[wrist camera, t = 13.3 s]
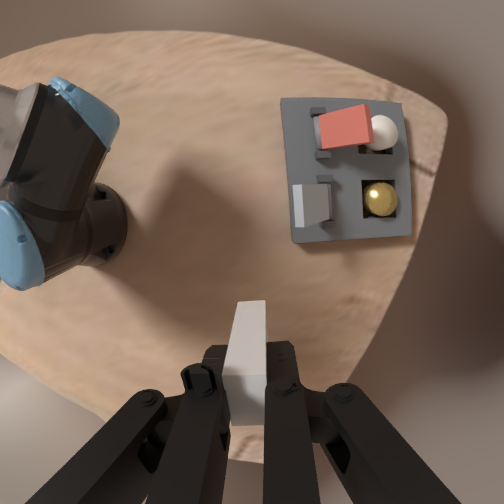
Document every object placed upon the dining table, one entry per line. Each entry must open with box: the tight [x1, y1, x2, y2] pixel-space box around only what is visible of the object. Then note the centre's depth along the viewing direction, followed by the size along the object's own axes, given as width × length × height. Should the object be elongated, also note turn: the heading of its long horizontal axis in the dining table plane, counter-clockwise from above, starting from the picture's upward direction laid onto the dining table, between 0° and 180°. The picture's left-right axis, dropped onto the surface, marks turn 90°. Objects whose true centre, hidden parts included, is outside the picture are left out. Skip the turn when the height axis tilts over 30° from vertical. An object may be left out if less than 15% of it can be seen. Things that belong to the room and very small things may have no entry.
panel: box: [280, 98, 412, 243], centre depth 38 cm, size 20×22×5 cm
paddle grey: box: [293, 184, 333, 227], centre depth 35 cm, size 2×5×9 cm
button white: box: [364, 115, 398, 151], centre depth 35 cm, size 5×5×4 cm
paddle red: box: [313, 104, 374, 150], centre depth 33 cm, size 2×5×9 cm
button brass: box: [362, 183, 398, 216], centre depth 39 cm, size 5×5×4 cm
